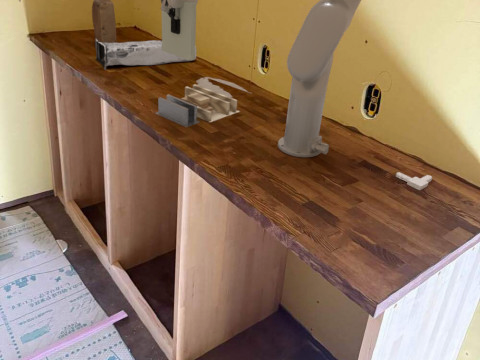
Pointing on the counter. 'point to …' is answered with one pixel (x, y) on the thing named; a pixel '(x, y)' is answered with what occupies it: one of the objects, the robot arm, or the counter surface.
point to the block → (104, 21)
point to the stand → (177, 111)
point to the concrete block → (134, 53)
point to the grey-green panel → (186, 39)
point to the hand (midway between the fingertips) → (178, 32)
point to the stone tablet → (215, 88)
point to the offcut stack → (198, 101)
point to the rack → (213, 104)
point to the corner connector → (415, 180)
